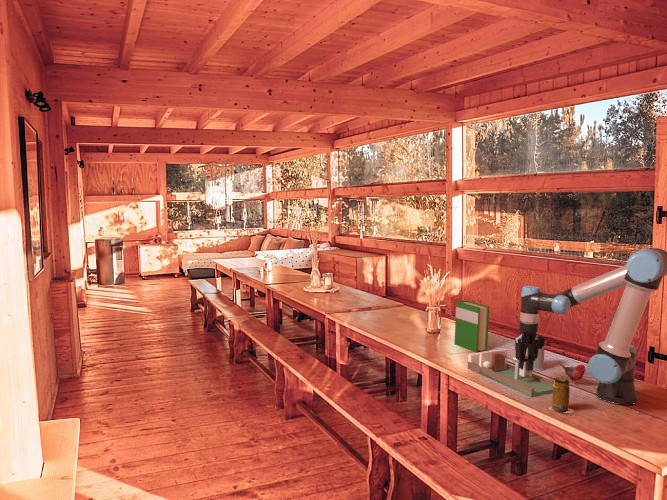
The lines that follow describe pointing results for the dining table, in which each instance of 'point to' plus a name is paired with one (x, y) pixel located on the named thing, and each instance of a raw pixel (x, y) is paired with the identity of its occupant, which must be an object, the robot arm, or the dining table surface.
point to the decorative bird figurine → (574, 372)
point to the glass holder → (539, 356)
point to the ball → (487, 364)
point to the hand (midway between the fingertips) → (525, 375)
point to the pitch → (510, 375)
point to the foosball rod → (499, 358)
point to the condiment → (560, 395)
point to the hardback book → (471, 325)
